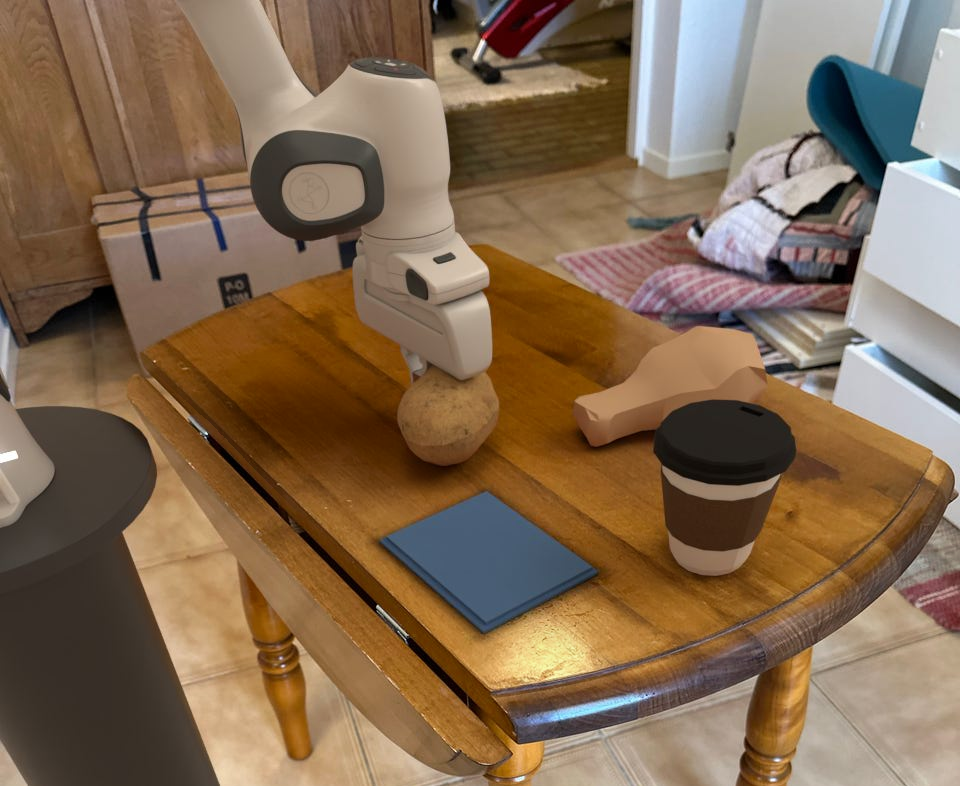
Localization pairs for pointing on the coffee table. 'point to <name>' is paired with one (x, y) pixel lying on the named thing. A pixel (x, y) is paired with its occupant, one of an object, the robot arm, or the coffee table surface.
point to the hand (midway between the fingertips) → (425, 387)
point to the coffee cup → (719, 479)
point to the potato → (447, 416)
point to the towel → (487, 560)
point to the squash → (675, 383)
